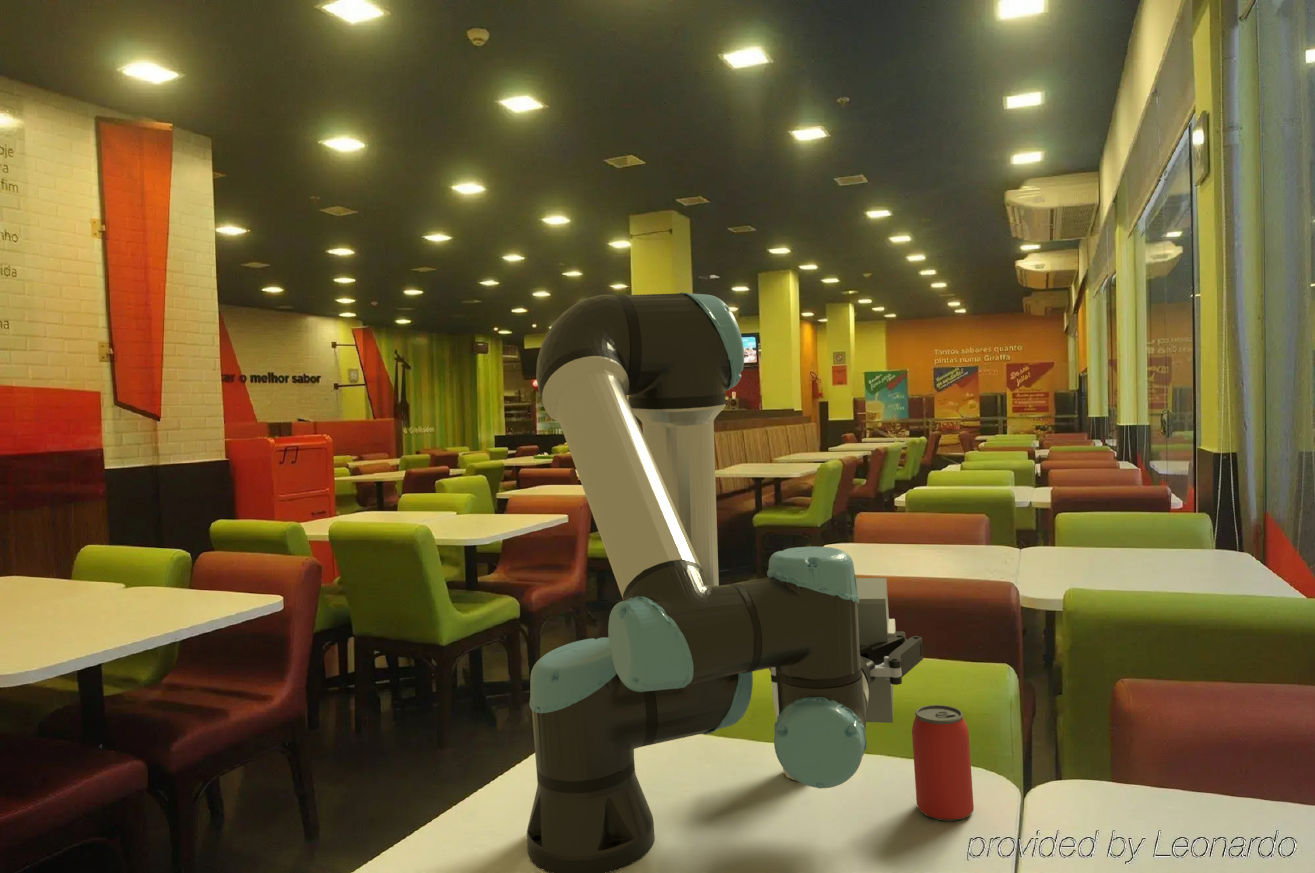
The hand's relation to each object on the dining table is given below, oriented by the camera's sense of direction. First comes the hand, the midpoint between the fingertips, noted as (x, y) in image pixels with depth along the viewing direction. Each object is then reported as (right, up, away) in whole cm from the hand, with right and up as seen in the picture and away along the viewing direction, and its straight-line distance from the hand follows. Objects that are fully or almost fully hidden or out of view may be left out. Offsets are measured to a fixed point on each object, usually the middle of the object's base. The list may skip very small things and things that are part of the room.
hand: (843, 629), depth 106 cm
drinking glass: (-3, -22, +10) cm, 25 cm away
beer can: (+12, -22, -3) cm, 25 cm away
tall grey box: (0, -8, -4) cm, 9 cm away
